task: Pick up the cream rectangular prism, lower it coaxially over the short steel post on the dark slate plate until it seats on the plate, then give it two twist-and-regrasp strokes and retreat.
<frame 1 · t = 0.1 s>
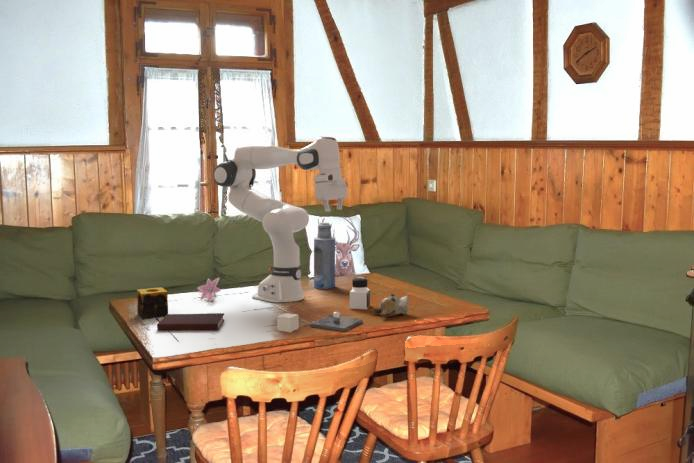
hand: (333, 210, 282), 39 cm above the table, fingers open, 8 cm apart
cream rectangular prism: (288, 329, 248), on the table
ceramic sculpture: (391, 316, 268), on the table
yellow holed cube: (152, 316, 269), on the table
grey elongated piece: (324, 287, 321), on the table
lily: (210, 299, 297), on the table
post plate: (336, 324, 254), on the table
medicine bottle: (359, 307, 281), on the table
book: (191, 327, 254), on the table
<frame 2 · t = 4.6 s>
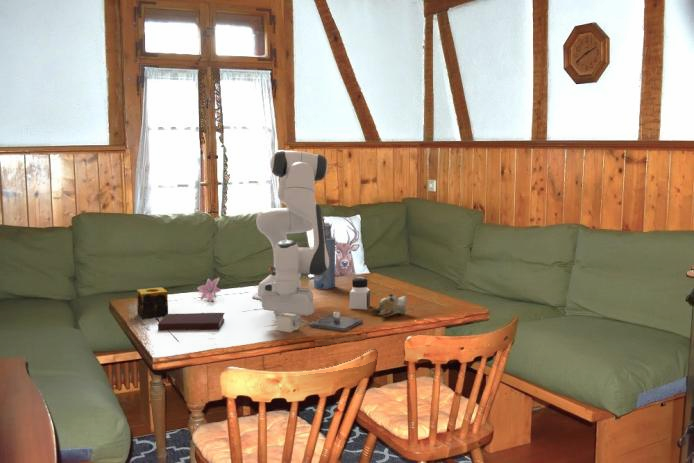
hand: (288, 324, 248), 2 cm above the table, fingers closed on cream rectangular prism, 5 cm apart
cream rectangular prism: (288, 329, 248), on the table, touching gripper
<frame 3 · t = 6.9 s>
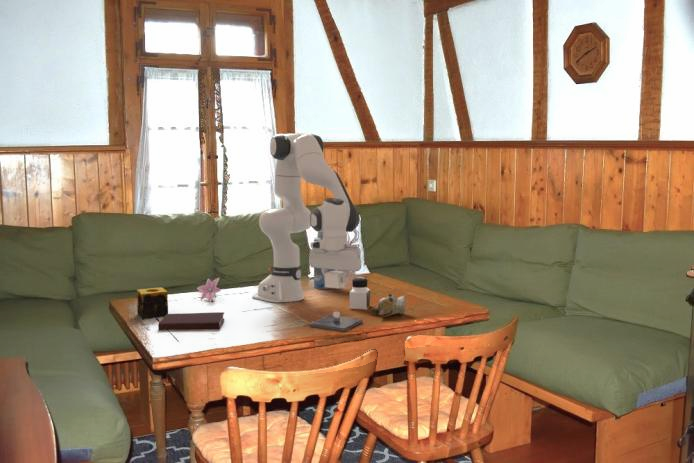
hand: (335, 281, 252), 16 cm above the table, fingers closed on cream rectangular prism, 5 cm apart
cream rectangular prism: (335, 286, 252), point 14 cm above the table, touching gripper
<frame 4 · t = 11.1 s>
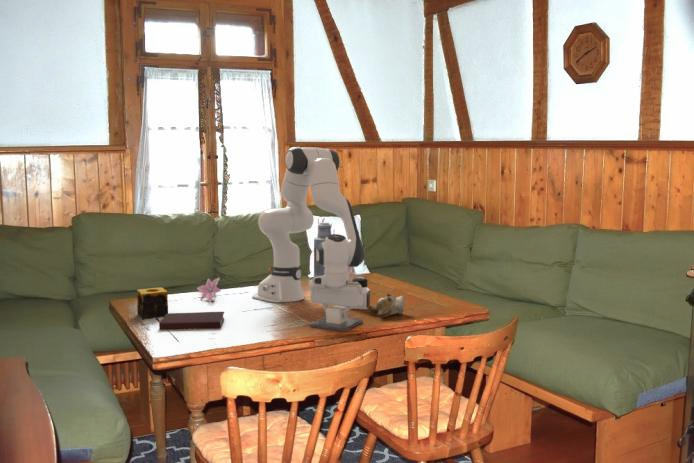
hand: (336, 316, 254), 3 cm above the table, fingers closed on cream rectangular prism, 5 cm apart
cream rectangular prism: (336, 321, 254), point 1 cm above the table, touching gripper, post plate
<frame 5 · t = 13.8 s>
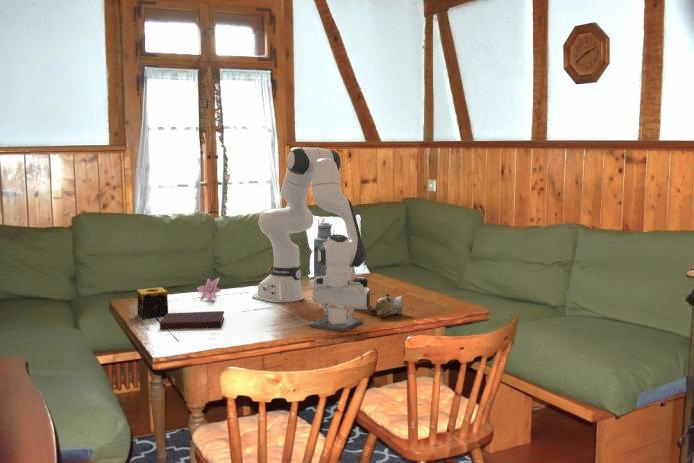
hand: (338, 316, 254), 3 cm above the table, fingers closed on cream rectangular prism, 8 cm apart
cream rectangular prism: (337, 321, 254), point 1 cm above the table, touching gripper
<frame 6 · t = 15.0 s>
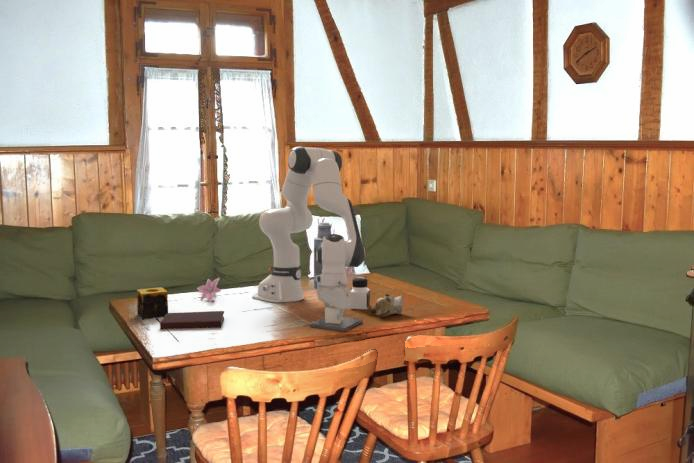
hand: (334, 316, 253), 3 cm above the table, fingers closed on cream rectangular prism, 8 cm apart
cream rectangular prism: (334, 321, 254), point 1 cm above the table, touching gripper
when the fingers open (3 cm above the table, at t = 15.8 s): cream rectangular prism stays where it is, resting on post plate.
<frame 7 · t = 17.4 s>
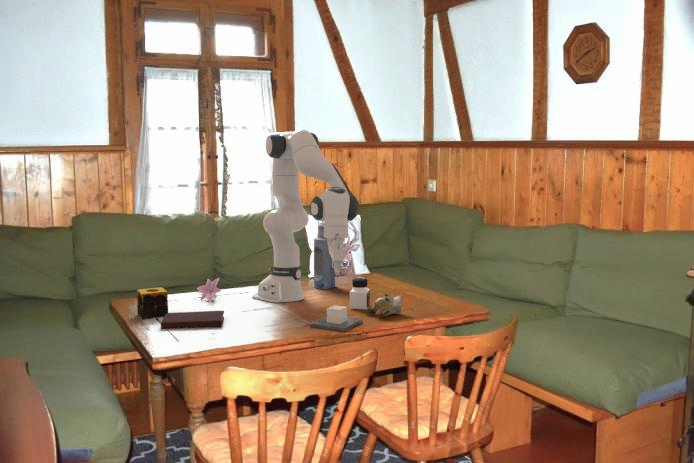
hand: (335, 270, 252), 20 cm above the table, fingers open, 8 cm apart
cream rectangular prism: (336, 321, 254), point 1 cm above the table, touching post plate
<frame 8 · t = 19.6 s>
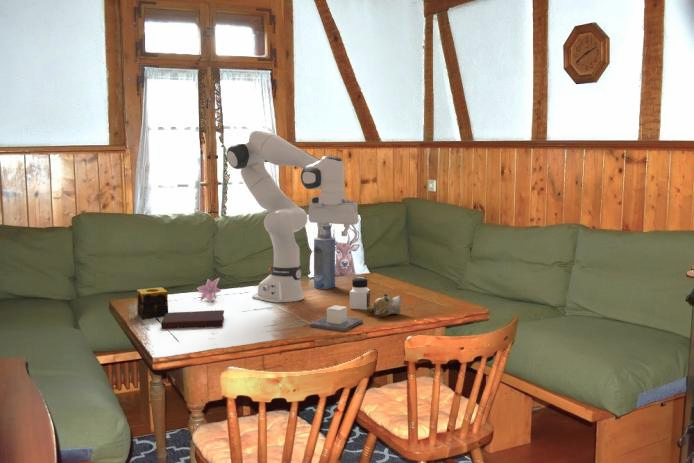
hand: (333, 235, 265), 31 cm above the table, fingers open, 8 cm apart
at the end: cream rectangular prism 0.1 cm off-centre on the post plate, point 1.2 cm above the post plate's base; cream rectangular prism tilted 0°; the gripper is holding nothing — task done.
